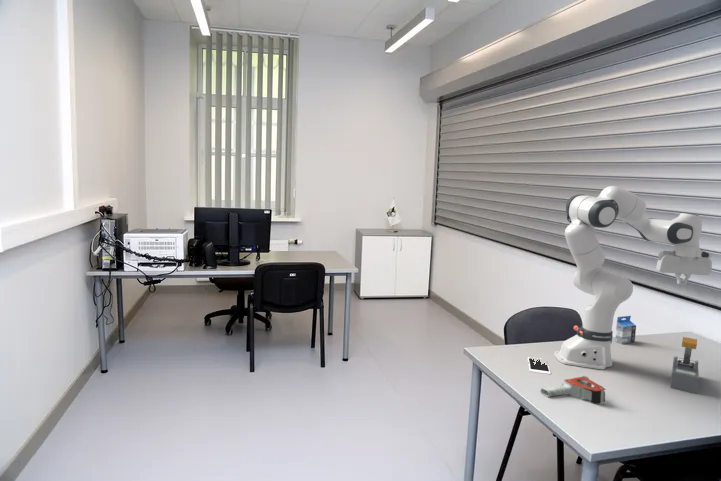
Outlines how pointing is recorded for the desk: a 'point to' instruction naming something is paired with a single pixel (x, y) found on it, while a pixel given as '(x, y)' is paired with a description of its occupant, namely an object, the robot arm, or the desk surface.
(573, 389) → the tape dispenser
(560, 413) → the desk surface
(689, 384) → the block
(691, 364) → the lever
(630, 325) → the label tape box
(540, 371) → the cell phone
